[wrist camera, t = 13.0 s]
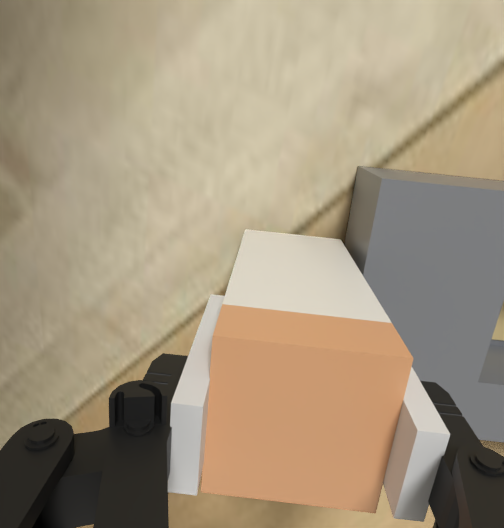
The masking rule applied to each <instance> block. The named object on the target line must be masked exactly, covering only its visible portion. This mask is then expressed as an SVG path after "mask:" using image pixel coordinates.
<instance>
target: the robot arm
mask: <svg viewBox="0 0 504 528" xmlns="http://www.w3.org/2000/svg"><path fill="white" fill-rule="evenodd" d="M224 297H225V296H221V295H210V298H209V301H208V304H207V306H206V309H205V312H204V314H203V317H202V320H201V323H200V325H199V328H198V331H197V334H196V336H195V339H194V342H193V345H192V347H191V350H190V353H189V355H188V356H182V355H173V354H164V353H163V354H162V355H160V356H159V357H158V358H156V359H155V360H154V361H152V363H151V365H150V367H149V369H148V371H147V374H146V375H145V377H144V379H143V380H138V381H131V382H128V383H125V384H123V385H120V386H119V387H117V388H116V389H115V390H114V391H112V393H111V395H110V397H109V427H108V428H105V429H103V430H99V431H94V432H86V433H78V434H74V433H73V429H72V426H71V425H70V424H68V423H67V422H66V421H63V420H59V419H42V420H39V421H35V422H32V423H30V424H28V425H26V426H24V427H22V428H20V429H19V430H18V431H17V432H16V433H15V434H14V435H13V436H12V437H11V438H10V439H9V440H8V442H7V443H6V444H5V445H4V447H3V448H2V449H1V450H0V528H76V527H80V526H85V525H91V524H94V527H93V528H169V526H168V492H172V493H180V494H189V495H197V493H198V488H199V483H200V478H201V473H202V468H203V463H204V453H205V440H206V427H207V414H208V400H209V387H210V378H209V376H210V363H211V350H212V337H213V333H214V329H215V326H216V323H217V320H218V316H219V313H220V310H221V307H222V303H223V300H224ZM383 485H384V488H385V491H386V494H387V498H388V501H389V504H390V508H391V511H392V514H393V517H394V518H396V519H405V520H414V521H422V522H424V519H425V516H426V512H427V509H428V506H429V505H430V507H431V510H432V512H433V514H434V517H435V522H434V526H433V528H504V457H503V456H501V455H500V454H498V453H496V452H495V451H493V450H490V449H488V448H485V447H483V445H482V444H481V442H480V441H479V439H478V438H477V436H476V435H475V433H474V431H473V430H472V428H471V427H470V425H469V424H468V422H467V421H466V419H465V418H464V417H462V413H461V411H460V410H459V408H458V407H456V404H455V402H454V401H453V399H452V398H451V396H450V394H449V393H448V392H447V391H445V390H444V389H443V388H442V387H441V386H439V385H438V384H437V383H436V382H427V381H420V380H419V378H418V376H417V375H416V373H415V371H414V369H413V368H412V367H411V371H410V375H409V379H408V383H407V387H406V391H405V395H404V399H403V404H402V408H401V412H400V416H399V420H398V424H397V428H396V432H395V436H394V440H393V444H392V448H391V452H390V457H389V461H388V465H387V469H386V473H385V477H384V481H383Z"/></svg>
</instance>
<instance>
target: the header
mask: <svg viewBox="0 0 504 528" xmlns="http://www.w3.org/2000/svg"><path fill="white" fill-rule="evenodd" d="M344 246H345V247H346V249H347V251H348V252H349V254H350V255H351V257H352V259H353V260H354V262H355V264H356V265H357V267H358V268H359V270H360V272H361V273H362V275H363V277H364V278H365V280H366V282H367V283H368V285H369V286H370V288H371V290H372V291H373V293H374V295H375V296H376V298H377V299H378V301H379V303H380V304H381V306H382V308H383V309H384V311H385V313H386V314H387V316H388V317H389V319H390V321H391V322H392V324H393V326H394V327H395V329H396V330H397V332H398V334H399V335H400V337H401V339H402V340H403V342H404V344H405V345H406V347H407V348H408V350H409V352H410V353H411V355H412V357H413V358H414V359H413V363H412V368H413V369H414V371H415V373H416V375H417V376H418V378H419V380H420V381H427V382H436V383H437V384H438V385H439V386H441V387H442V388H443V389H444V390H445V391H447V392H448V393H449V394H450V396H451V398H452V399H453V401H454V402H455V404H456V407H458V408H459V410H460V411H461V413H462V417H464V418H465V419H466V421H467V422H468V424H469V425H470V427H471V428H472V430H473V431H474V433H475V435H476V436H477V438H478V439H479V440H487V441H495V442H504V181H499V180H489V179H480V178H470V177H460V176H450V175H441V174H431V173H421V172H411V171H402V170H392V169H382V168H373V167H363V166H358V169H357V175H356V181H355V186H354V192H353V198H352V203H351V209H350V215H349V221H348V226H347V232H346V238H345V243H344Z"/></svg>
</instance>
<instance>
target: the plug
mask: <svg viewBox="0 0 504 528" xmlns="http://www.w3.org/2000/svg"><path fill="white" fill-rule="evenodd" d="M413 359H414V358H413V357H412V355H411V353H410V352H409V350H408V348H407V347H406V345H405V344H404V342H403V340H402V339H401V337H400V335H399V334H398V332H397V330H396V329H395V327H394V326H393V324H392V322H391V321H390V319H389V317H388V316H387V314H386V313H385V311H384V309H383V308H382V306H381V304H380V303H379V301H378V299H377V298H376V296H375V295H374V293H373V291H372V290H371V288H370V286H369V285H368V283H367V282H366V280H365V278H364V277H363V275H362V273H361V272H360V270H359V268H358V267H357V265H356V264H355V262H354V260H353V259H352V257H351V255H350V254H349V252H348V251H347V249H346V247H345V246H344V244H343V242H342V241H341V239H333V238H324V237H314V236H305V235H296V234H286V233H277V232H268V231H258V230H249V229H245V232H244V235H243V238H242V242H241V245H240V248H239V251H238V255H237V258H236V261H235V264H234V268H233V271H232V274H231V277H230V281H229V284H228V287H227V290H226V294H225V297H224V300H223V303H222V307H221V310H220V313H219V316H218V320H217V323H216V326H215V329H214V333H213V337H212V350H211V363H210V376H209V378H210V387H209V400H208V414H207V427H206V440H205V453H204V463H203V468H202V481H201V492H204V493H212V494H220V495H228V496H237V497H245V498H253V499H261V500H270V501H278V502H286V503H295V504H303V505H311V506H319V507H328V508H336V509H344V510H352V511H361V512H369V513H376V510H377V505H378V501H379V497H380V493H381V489H382V485H383V481H384V477H385V473H386V469H387V465H388V461H389V457H390V452H391V448H392V444H393V440H394V436H395V432H396V428H397V424H398V420H399V416H400V412H401V408H402V404H403V399H404V395H405V391H406V387H407V383H408V379H409V375H410V371H411V367H412V363H413Z"/></svg>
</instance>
